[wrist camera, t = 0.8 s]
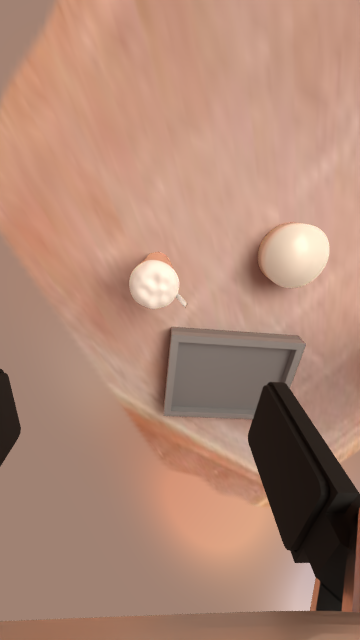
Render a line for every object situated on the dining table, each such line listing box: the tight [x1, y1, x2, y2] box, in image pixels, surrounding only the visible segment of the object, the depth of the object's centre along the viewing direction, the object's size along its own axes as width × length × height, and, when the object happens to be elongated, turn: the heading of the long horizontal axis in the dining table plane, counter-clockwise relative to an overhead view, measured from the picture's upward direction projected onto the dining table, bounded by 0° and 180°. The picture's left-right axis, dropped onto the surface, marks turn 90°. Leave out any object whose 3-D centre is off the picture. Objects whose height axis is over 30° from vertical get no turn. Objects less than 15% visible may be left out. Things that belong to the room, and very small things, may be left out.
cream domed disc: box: [258, 222, 329, 288], centre depth 29 cm, size 7×7×3 cm
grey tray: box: [164, 327, 306, 419], centre depth 36 cm, size 18×14×2 cm
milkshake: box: [129, 252, 187, 309], centre depth 25 cm, size 4×5×10 cm
